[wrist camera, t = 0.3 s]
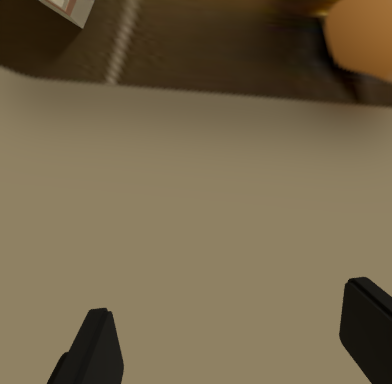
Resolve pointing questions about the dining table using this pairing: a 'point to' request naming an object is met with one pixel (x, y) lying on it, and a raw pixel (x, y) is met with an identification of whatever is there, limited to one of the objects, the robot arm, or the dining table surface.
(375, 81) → the dining table surface
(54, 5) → the carton
